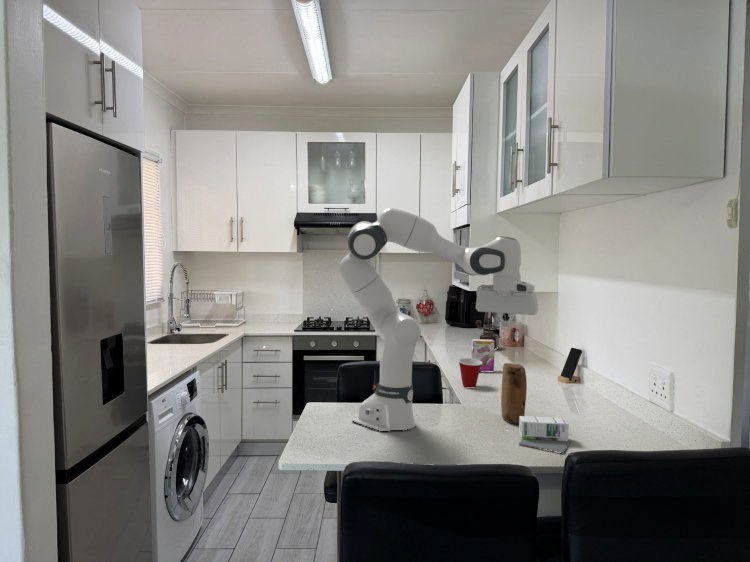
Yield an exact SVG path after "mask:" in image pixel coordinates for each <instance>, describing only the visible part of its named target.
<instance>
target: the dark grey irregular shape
mask: <svg viewBox="0 0 750 562" xmlns="http://www.w3.org/2000/svg"><path fill="white" fill-rule="evenodd" d="M475 325H476V326H477V328H478V329H479V330H483V329H488V331H486V332H485V333H482V334H480V335H479V339H481V340H494V341H495V348H497V347H498V348H499V341H500V340H499V339H500V338H499V336H500V335H499V334H496V333H494V332H493V331H491V327H492V326H491V324H490V323H489V324H488V326H483V327H482V321H481V320H480V319H479V320H476V321H475Z"/></svg>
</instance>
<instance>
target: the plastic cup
mask: <svg viewBox="0 0 750 562" xmlns="http://www.w3.org/2000/svg"><path fill="white" fill-rule="evenodd" d="M458 363H459V369H460V376H461V382H462V383H461V384H462V387H463V386H464V388H465V387H475V388H476V387H477V383H478V378H479V373H480V372H479V370H480V367H481V365H482V362H481V361H479V360H476V359H471V357H470V358H469V357H465V358H463V357H462V358H459V359H458Z"/></svg>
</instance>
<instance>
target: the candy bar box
mask: <svg viewBox="0 0 750 562" xmlns="http://www.w3.org/2000/svg"><path fill="white" fill-rule="evenodd" d="M494 349H495V341H494V340H481V339H480V338H479V339H476V338H475V339H474V338H473V339H471V356H470V358H471V359H476V360H479V361H481V362H482V365H481V367H480V370H479V371H494V372H495V351H494Z"/></svg>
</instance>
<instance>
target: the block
mask: <svg viewBox="0 0 750 562" xmlns="http://www.w3.org/2000/svg"><path fill="white" fill-rule="evenodd" d="M501 376H502V377H501V379H502V380H501V400H500V401H501V403H500V404H501V405H500V406H501V408H500V409H501V418H502V419H503V421H506V422H508V423H509V424H515V425H516V424H517V425H519V417H520V416H525V414H526V413H525V410H526V402H527V389H528V388H527V387H528V385H527V384H528V383H527V372H526V369H525V367H524V365H522V364H520V363H517V364H516V363H512V362H511V363H509V362H508V363H505V362H504V363H503V367H502V375H501Z"/></svg>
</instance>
